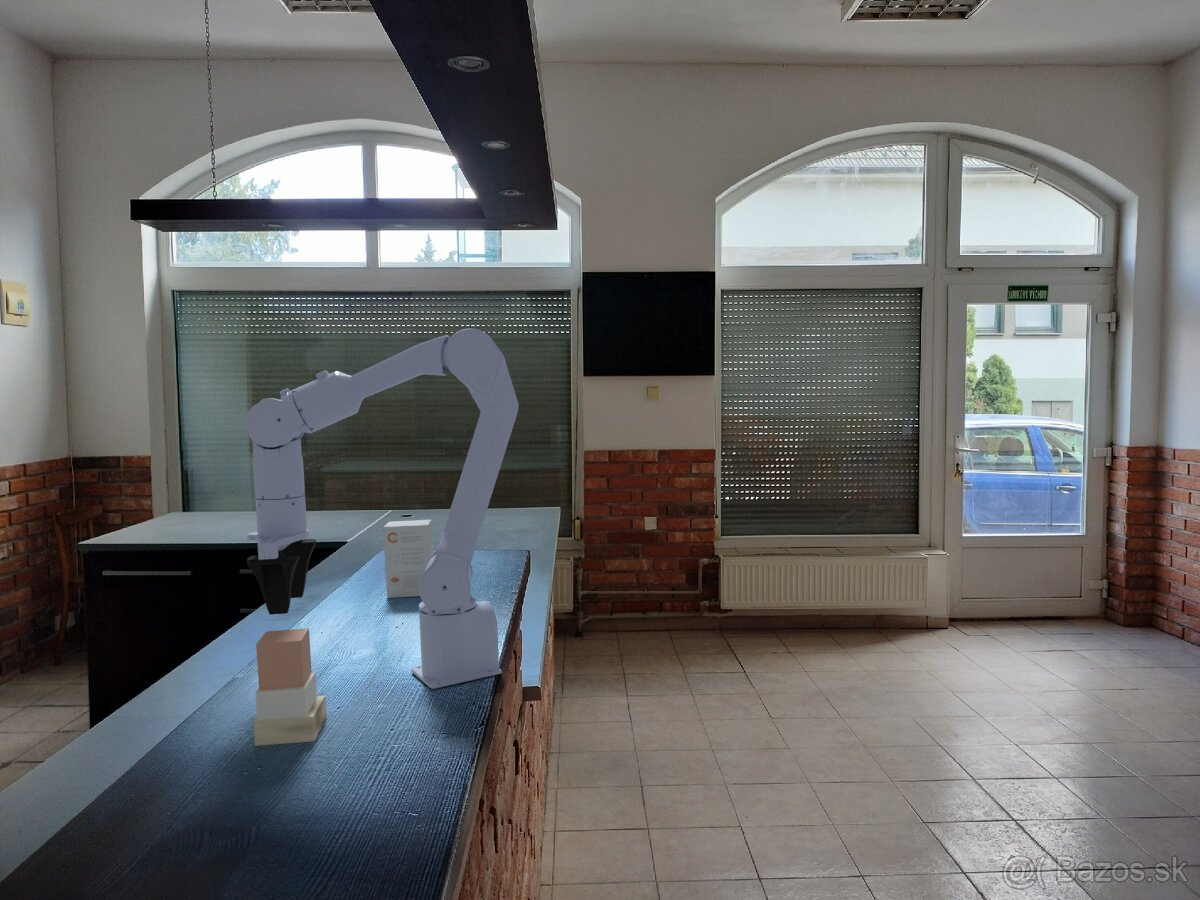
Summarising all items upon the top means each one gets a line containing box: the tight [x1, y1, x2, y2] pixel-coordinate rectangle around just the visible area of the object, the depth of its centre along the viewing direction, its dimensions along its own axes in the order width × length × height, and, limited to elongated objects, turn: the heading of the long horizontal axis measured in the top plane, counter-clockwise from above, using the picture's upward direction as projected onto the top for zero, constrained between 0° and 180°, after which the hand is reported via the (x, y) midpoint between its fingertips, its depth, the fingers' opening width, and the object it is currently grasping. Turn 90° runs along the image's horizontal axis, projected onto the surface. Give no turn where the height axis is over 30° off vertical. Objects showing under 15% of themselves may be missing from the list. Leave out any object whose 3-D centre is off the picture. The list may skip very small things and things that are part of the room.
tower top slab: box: [254, 672, 318, 720], centre depth 87 cm, size 5×5×3 cm
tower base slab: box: [253, 695, 328, 747], centre depth 88 cm, size 6×6×3 cm
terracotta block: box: [255, 627, 313, 691], centre depth 87 cm, size 4×4×5 cm
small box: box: [382, 519, 435, 599], centre depth 147 cm, size 8×6×13 cm
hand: (286, 605), depth 101 cm, fingers open, 7 cm apart
